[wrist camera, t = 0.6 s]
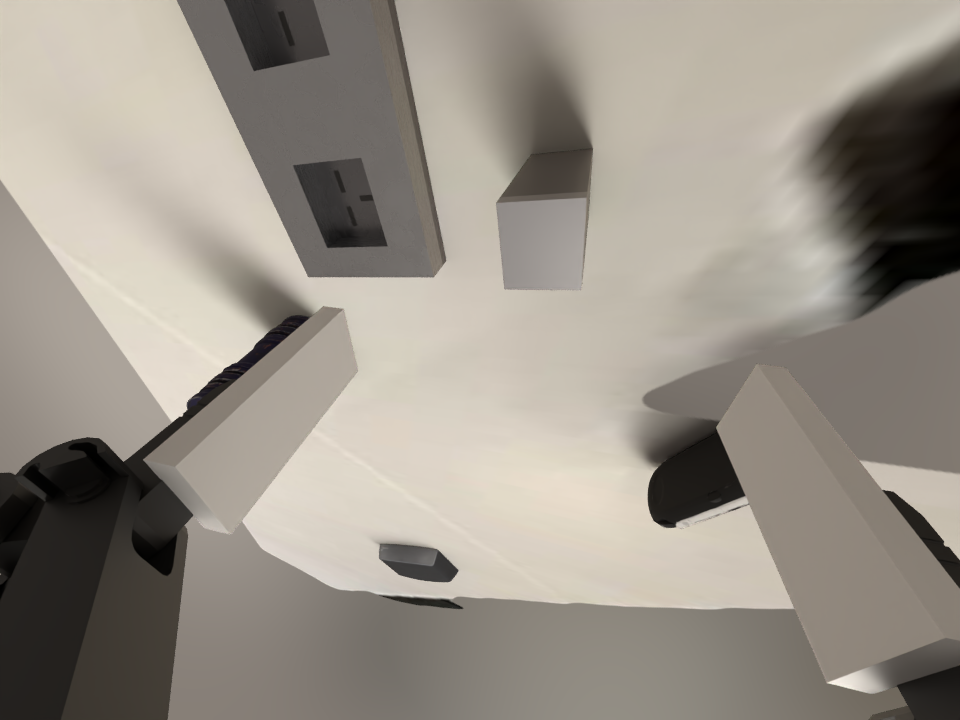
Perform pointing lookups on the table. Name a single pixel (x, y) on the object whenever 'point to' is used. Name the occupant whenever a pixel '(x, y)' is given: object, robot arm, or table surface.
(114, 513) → the robot arm
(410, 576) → the external hard drive
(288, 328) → the storage jar
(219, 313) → the table surface
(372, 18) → the socket board
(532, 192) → the plug
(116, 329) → the table surface
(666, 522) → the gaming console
